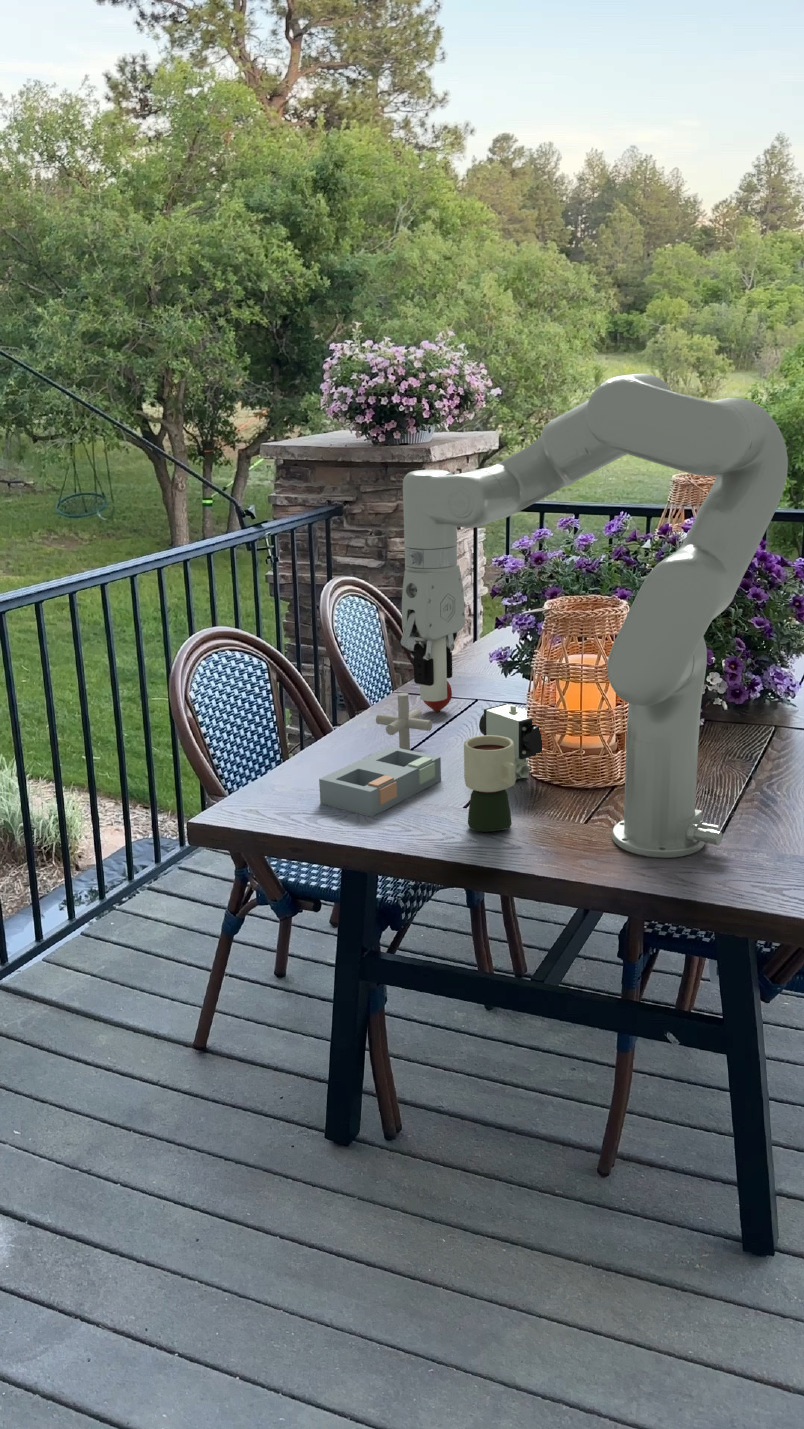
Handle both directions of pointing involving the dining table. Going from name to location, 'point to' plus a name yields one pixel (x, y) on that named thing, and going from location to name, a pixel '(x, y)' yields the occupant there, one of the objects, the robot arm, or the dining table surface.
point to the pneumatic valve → (513, 733)
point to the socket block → (380, 780)
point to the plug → (436, 672)
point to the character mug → (489, 781)
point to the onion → (440, 704)
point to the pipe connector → (404, 721)
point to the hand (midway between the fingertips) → (433, 679)
